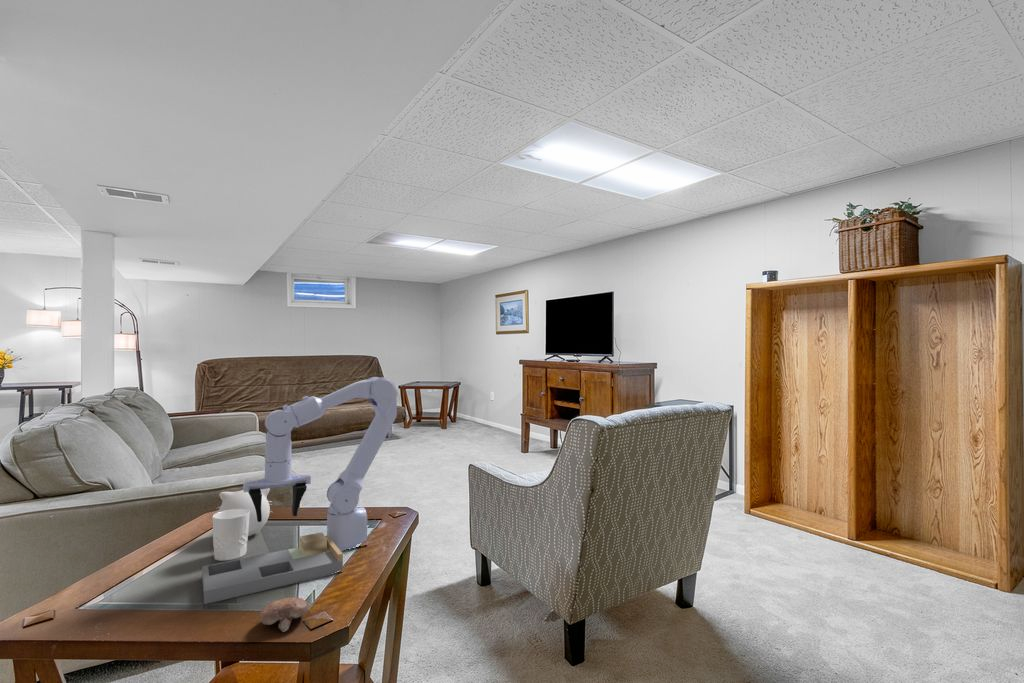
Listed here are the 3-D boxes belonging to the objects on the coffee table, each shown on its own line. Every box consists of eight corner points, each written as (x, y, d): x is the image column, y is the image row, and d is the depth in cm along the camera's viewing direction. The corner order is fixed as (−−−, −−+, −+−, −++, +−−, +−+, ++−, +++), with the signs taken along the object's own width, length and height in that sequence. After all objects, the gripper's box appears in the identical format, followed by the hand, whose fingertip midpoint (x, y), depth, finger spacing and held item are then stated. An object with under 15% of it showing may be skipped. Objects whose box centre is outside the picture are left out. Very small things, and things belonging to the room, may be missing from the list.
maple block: (321, 544, 118) (321, 532, 118) (326, 551, 113) (326, 538, 113) (299, 549, 115) (299, 536, 115) (303, 556, 111) (304, 542, 111)
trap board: (327, 551, 120) (327, 535, 120) (342, 572, 108) (342, 553, 108) (202, 578, 105) (202, 559, 105) (204, 604, 94) (204, 583, 94)
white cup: (232, 563, 113) (233, 519, 113) (203, 560, 115) (204, 517, 115) (256, 550, 121) (257, 509, 121) (228, 548, 122) (229, 508, 123)
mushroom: (312, 630, 84) (315, 597, 92) (294, 606, 82) (298, 575, 90) (270, 655, 83) (276, 620, 90) (250, 631, 81) (258, 597, 88)
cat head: (208, 549, 121) (210, 500, 122) (213, 533, 133) (214, 488, 133) (275, 539, 128) (276, 492, 129) (274, 525, 140) (275, 482, 140)
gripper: (306, 454, 124) (306, 508, 124) (242, 461, 116) (241, 518, 116) (312, 459, 119) (312, 515, 118) (245, 466, 110) (244, 527, 110)
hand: (277, 517), depth 116 cm, fingers open, 7 cm apart
